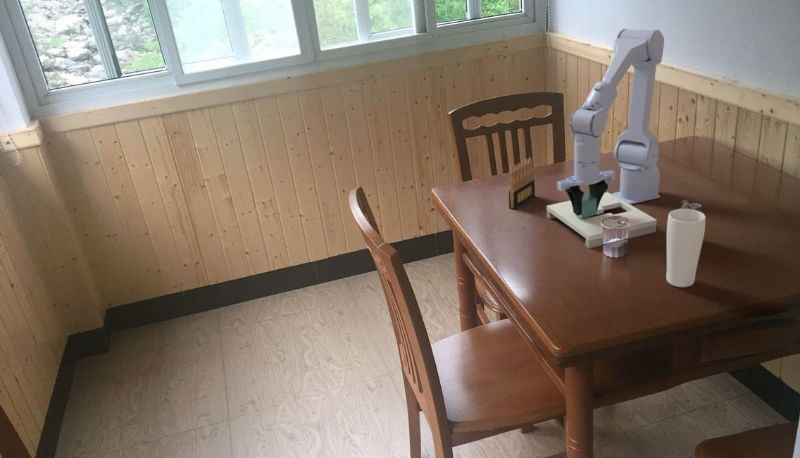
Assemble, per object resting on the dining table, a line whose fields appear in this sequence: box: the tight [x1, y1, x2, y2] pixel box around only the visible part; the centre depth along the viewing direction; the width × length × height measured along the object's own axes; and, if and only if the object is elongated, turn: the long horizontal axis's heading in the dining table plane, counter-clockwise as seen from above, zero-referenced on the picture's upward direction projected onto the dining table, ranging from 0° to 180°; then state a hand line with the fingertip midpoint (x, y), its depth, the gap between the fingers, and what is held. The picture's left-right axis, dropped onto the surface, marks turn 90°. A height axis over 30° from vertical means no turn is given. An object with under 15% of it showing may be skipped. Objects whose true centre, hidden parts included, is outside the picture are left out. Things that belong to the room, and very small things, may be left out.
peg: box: [573, 192, 597, 219], centre depth 151 cm, size 4×4×8 cm
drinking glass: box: [665, 208, 707, 288], centre depth 123 cm, size 7×7×15 cm
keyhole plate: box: [546, 191, 658, 249], centre depth 153 cm, size 18×20×3 cm
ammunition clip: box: [508, 156, 536, 210], centre depth 168 cm, size 11×2×12 cm, turn 138°
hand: (585, 212), depth 151 cm, fingers closed on peg, 4 cm apart
